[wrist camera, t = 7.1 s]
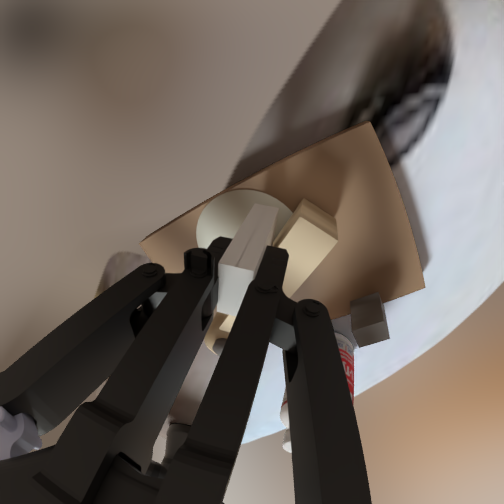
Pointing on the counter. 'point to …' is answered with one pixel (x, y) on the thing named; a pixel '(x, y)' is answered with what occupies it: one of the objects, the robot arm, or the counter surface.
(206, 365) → the counter surface
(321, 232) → the leg bar
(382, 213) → the board
